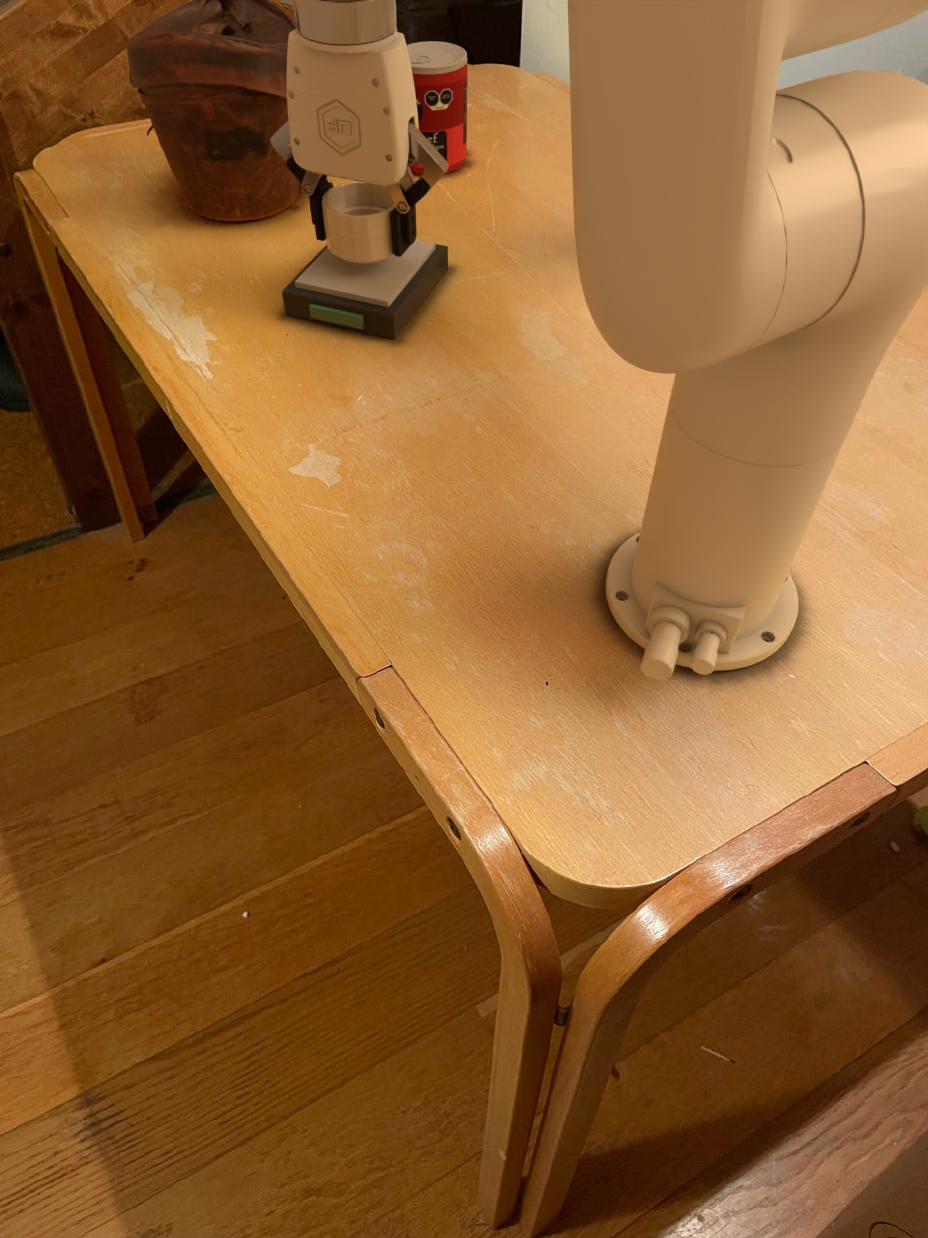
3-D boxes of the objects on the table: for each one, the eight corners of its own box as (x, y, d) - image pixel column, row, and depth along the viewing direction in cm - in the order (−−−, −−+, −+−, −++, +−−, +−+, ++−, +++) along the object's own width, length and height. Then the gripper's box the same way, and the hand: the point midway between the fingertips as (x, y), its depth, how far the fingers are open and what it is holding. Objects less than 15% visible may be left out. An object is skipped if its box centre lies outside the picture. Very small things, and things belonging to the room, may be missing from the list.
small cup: (384, 273, 79) (380, 223, 75) (314, 258, 80) (308, 208, 77) (414, 237, 83) (412, 188, 79) (347, 223, 84) (343, 175, 81)
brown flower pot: (278, 141, 106) (251, -42, 92) (360, 209, 95) (344, 14, 81) (133, 178, 99) (80, -12, 86) (203, 255, 89) (156, 52, 75)
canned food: (384, 165, 102) (378, 56, 93) (426, 140, 106) (423, 35, 98) (439, 182, 99) (437, 72, 91) (479, 157, 103) (481, 49, 95)
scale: (392, 342, 79) (390, 312, 77) (282, 317, 82) (277, 287, 80) (448, 269, 87) (448, 239, 85) (347, 248, 90) (344, 219, 88)
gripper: (219, 14, 67) (260, 243, 81) (434, 46, 63) (438, 280, 77) (268, -15, 71) (299, 206, 85) (471, 13, 68) (469, 240, 81)
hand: (365, 239), depth 81 cm, fingers closed on small cup, 6 cm apart
